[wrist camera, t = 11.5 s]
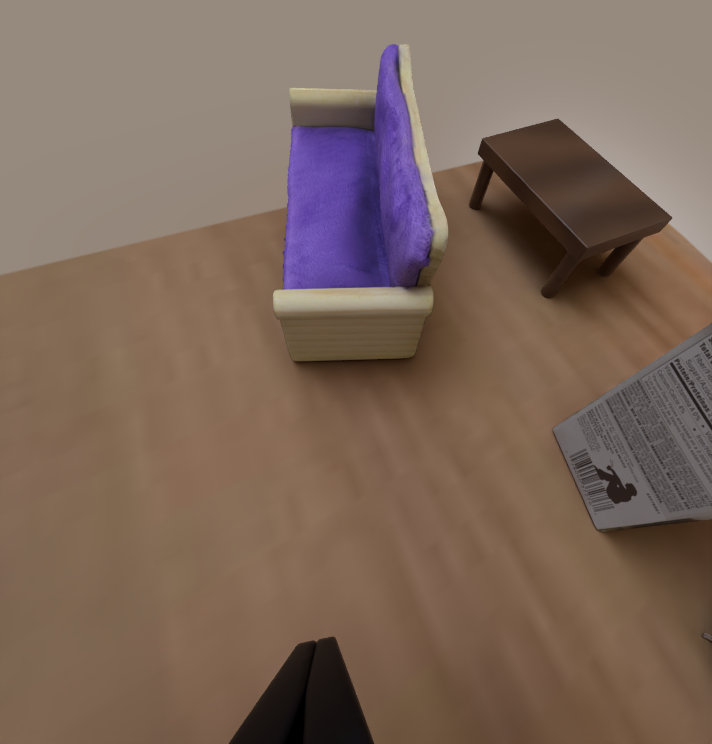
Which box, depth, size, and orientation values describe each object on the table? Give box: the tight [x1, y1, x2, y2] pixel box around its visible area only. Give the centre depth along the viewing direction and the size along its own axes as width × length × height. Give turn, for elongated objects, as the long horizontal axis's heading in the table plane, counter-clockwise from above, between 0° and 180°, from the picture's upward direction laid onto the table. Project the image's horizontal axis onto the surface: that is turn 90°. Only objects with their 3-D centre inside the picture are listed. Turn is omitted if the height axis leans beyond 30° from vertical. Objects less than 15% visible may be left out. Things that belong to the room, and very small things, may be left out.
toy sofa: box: [273, 44, 448, 361], centre depth 25 cm, size 21×9×10 cm, turn 2°
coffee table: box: [469, 119, 672, 298], centre depth 28 cm, size 12×7×6 cm, turn 24°
